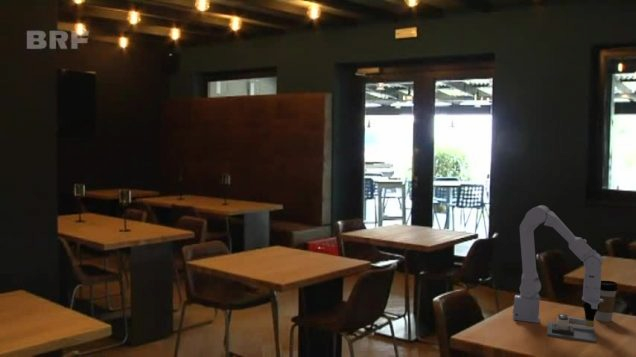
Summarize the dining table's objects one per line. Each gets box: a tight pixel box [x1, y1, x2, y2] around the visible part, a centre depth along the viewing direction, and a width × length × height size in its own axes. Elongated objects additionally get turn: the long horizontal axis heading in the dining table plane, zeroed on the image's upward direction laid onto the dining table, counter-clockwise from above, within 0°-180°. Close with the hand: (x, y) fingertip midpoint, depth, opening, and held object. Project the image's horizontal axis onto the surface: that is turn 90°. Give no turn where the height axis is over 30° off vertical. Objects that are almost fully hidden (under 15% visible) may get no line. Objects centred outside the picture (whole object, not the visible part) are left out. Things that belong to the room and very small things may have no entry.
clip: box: [557, 313, 595, 328], centre depth 225 cm, size 12×3×2 cm, turn 66°
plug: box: [555, 315, 570, 331], centre depth 220 cm, size 5×5×5 cm
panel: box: [546, 320, 598, 344], centre depth 221 cm, size 16×16×2 cm
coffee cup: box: [594, 280, 618, 323], centre depth 238 cm, size 8×8×15 cm
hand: (589, 323), depth 224 cm, fingers closed, pressing on clip
